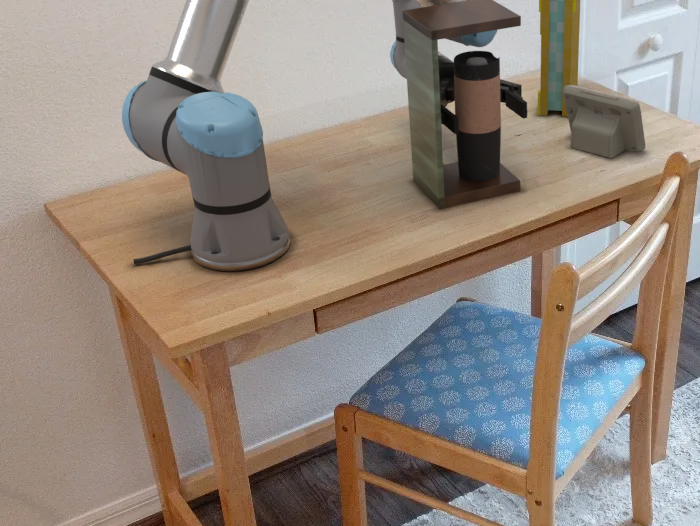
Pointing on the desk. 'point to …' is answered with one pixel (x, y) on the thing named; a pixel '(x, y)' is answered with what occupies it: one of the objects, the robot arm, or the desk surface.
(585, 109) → the digital clock
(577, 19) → the book
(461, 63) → the travel mug
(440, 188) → the shelf
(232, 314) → the desk surface
